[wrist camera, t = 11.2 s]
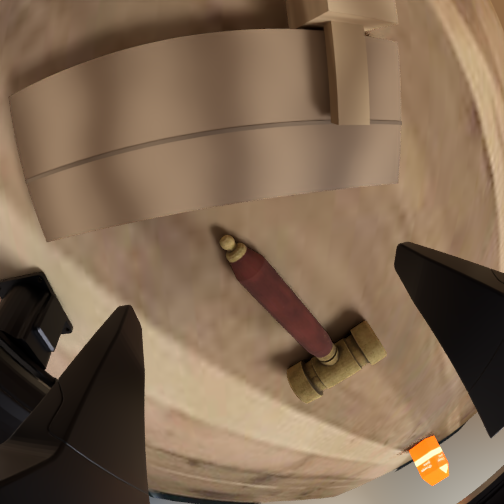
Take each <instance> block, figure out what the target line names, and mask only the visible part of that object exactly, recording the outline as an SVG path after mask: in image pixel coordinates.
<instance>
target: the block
mask: <svg viewBox="0 0 504 504" xmlns="http://www.w3.org/2000/svg"><path fill="white" fill-rule="evenodd" d="M285 2H286V10H287V18H288V26H289V29H304V30H320V31H324V34H325V44H326V54H327V66H328V79H329V94H330V114H331V123H333V124H336V125H370V106H369V81H368V65H367V52H366V41H365V31H369V30H373V29H377V28H381V27H386V26H391V25H396V24H398V17H397V10H396V4H395V0H285Z"/></svg>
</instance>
